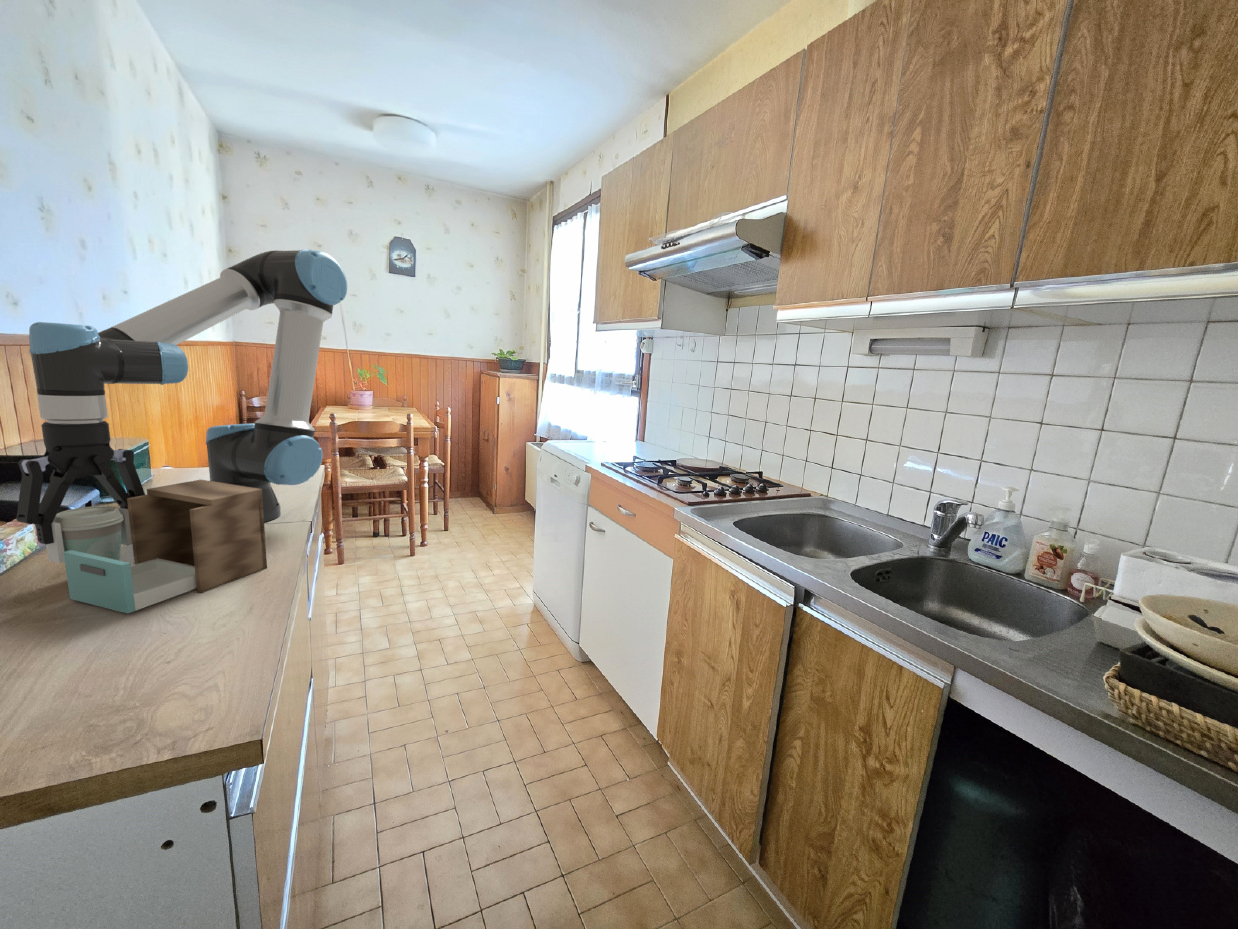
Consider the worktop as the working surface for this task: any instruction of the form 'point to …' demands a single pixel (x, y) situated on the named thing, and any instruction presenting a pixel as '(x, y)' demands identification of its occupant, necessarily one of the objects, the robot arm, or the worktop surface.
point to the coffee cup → (92, 530)
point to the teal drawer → (125, 581)
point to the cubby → (201, 529)
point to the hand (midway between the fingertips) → (92, 551)
